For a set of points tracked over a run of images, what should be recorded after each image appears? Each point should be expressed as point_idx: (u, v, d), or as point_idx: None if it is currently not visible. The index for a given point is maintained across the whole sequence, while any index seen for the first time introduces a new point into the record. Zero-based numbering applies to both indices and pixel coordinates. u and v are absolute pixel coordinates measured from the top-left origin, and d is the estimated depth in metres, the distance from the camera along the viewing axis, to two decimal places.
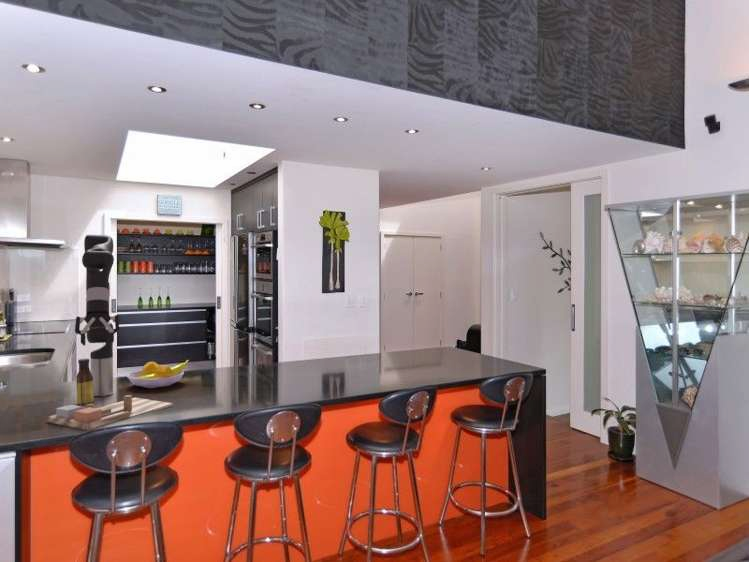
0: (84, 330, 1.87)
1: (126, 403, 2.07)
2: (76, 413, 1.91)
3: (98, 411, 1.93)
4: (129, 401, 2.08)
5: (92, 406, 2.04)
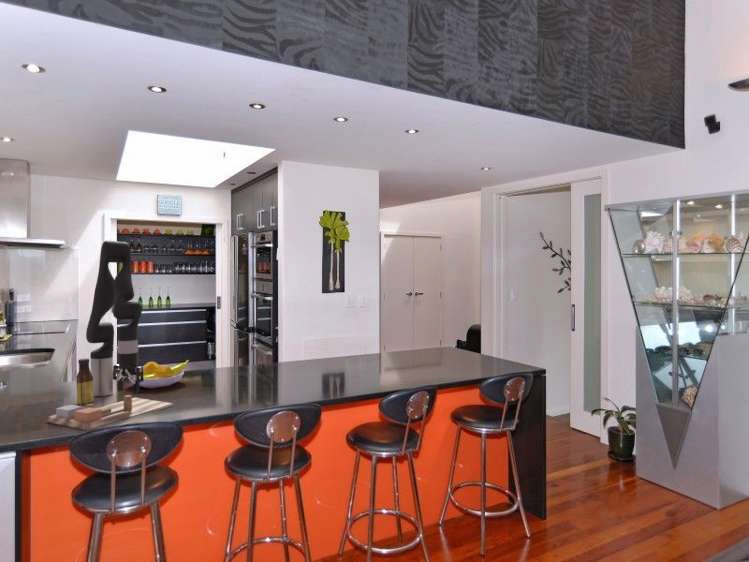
0: (118, 378, 2.09)
1: (126, 403, 2.07)
2: (76, 413, 1.91)
3: (98, 411, 1.93)
4: (129, 401, 2.08)
5: (92, 406, 2.04)
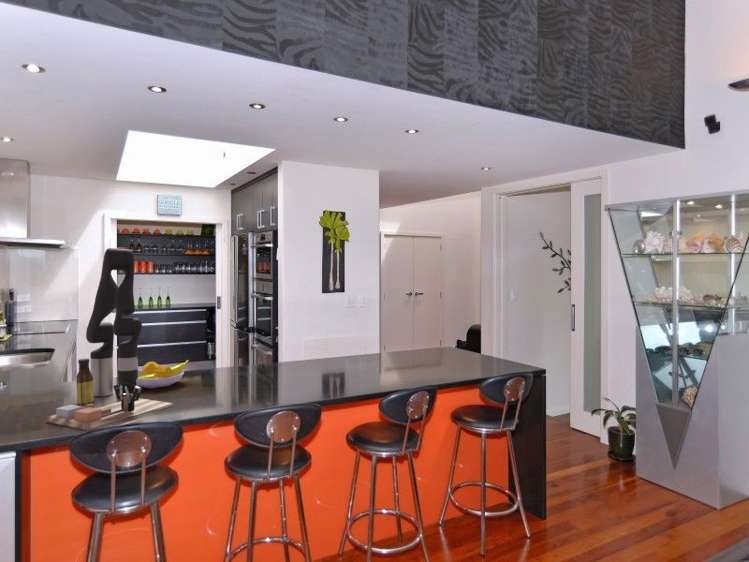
0: (121, 398, 2.09)
1: (126, 403, 2.07)
2: (76, 413, 1.91)
3: (98, 411, 1.93)
4: None
5: (92, 406, 2.04)
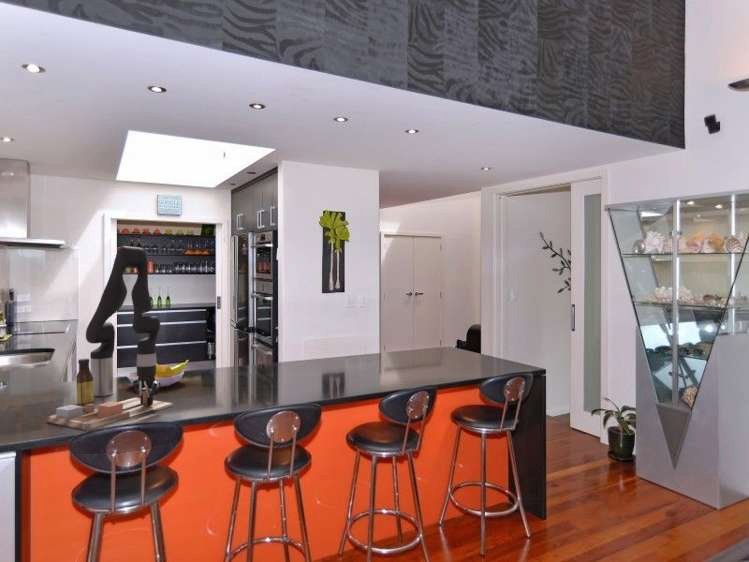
0: (140, 392, 2.17)
1: (145, 397, 2.16)
2: (99, 407, 2.00)
3: (120, 405, 2.02)
4: None
5: (92, 406, 2.04)
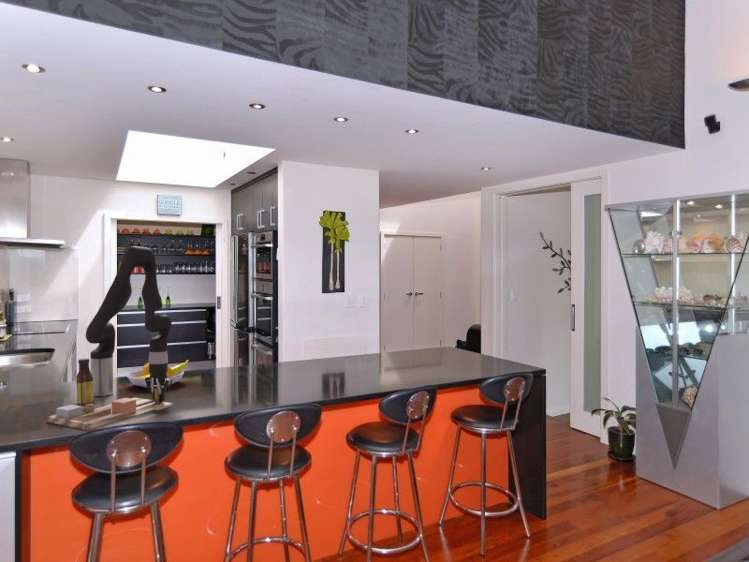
0: (152, 389, 2.23)
1: (157, 394, 2.22)
2: (113, 403, 2.05)
3: (133, 401, 2.07)
4: None
5: (92, 406, 2.04)
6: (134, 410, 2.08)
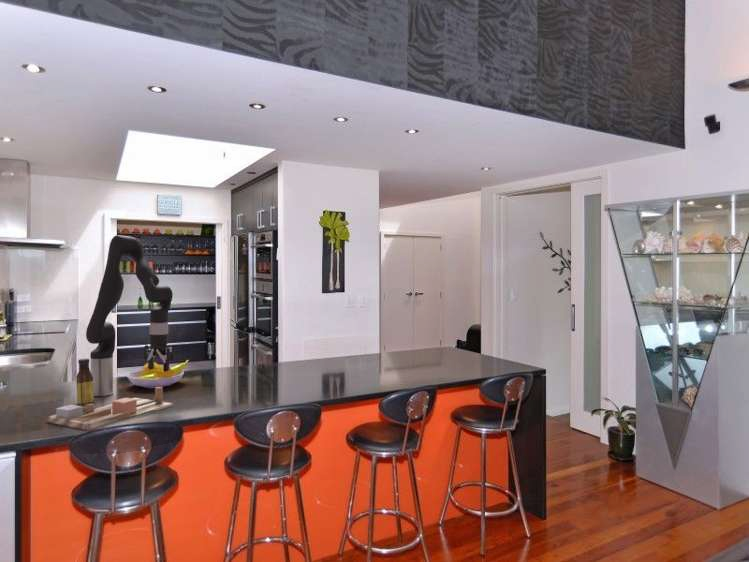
0: (149, 358, 2.23)
1: (157, 394, 2.22)
2: (113, 403, 2.06)
3: (133, 401, 2.08)
4: (160, 392, 2.22)
5: (92, 406, 2.04)
6: (134, 410, 2.08)
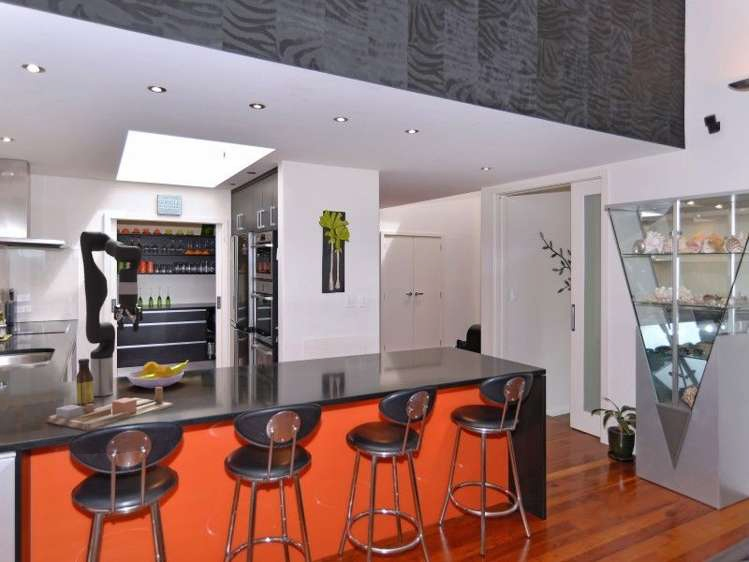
0: (118, 318, 2.22)
1: (157, 394, 2.22)
2: (113, 403, 2.06)
3: (133, 401, 2.08)
4: (160, 392, 2.22)
5: (92, 406, 2.04)
6: (134, 410, 2.08)
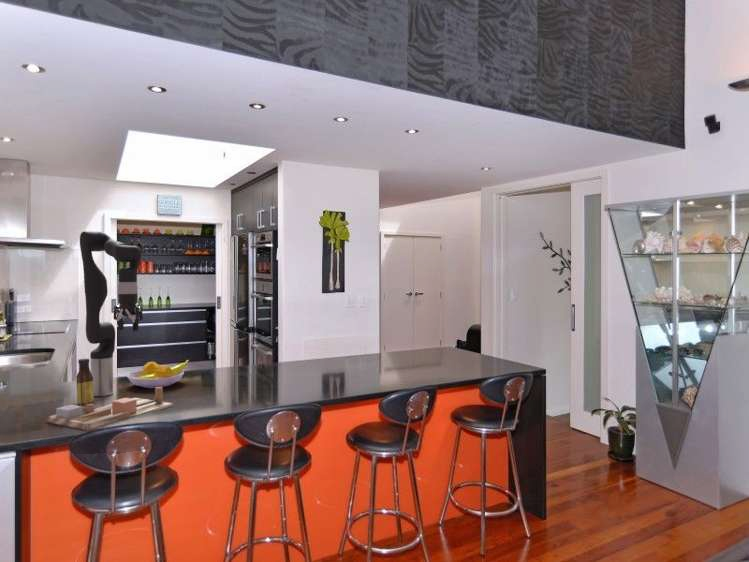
0: (118, 318, 2.22)
1: (157, 394, 2.22)
2: (113, 403, 2.06)
3: (133, 401, 2.08)
4: (160, 392, 2.22)
5: (92, 406, 2.04)
6: (134, 410, 2.08)
